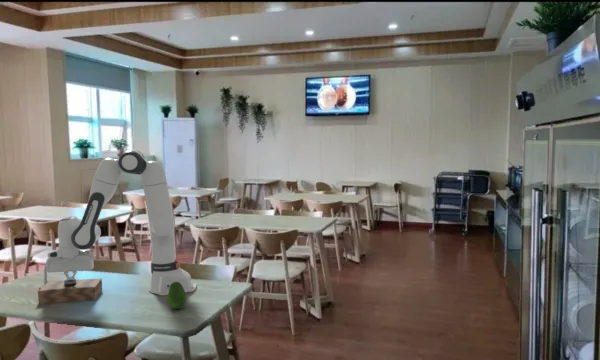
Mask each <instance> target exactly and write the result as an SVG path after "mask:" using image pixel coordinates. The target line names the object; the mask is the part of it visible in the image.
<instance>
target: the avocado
mask: <svg viewBox="0 0 600 360" xmlns="http://www.w3.org/2000/svg"><path fill="white" fill-rule="evenodd" d="M186 301H187V292H186V293H185V291H184V289H183V287H182V285H181V284H180V283H179V282H173V283H172V284H171V285H170V288H169V293H168V295H167V303H168V305H169V306H170V307H171V309H173V310H174V309H175V310H179V309H182V308H183V307H184V306H185V305H186V303H187V302H186Z"/></svg>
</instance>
